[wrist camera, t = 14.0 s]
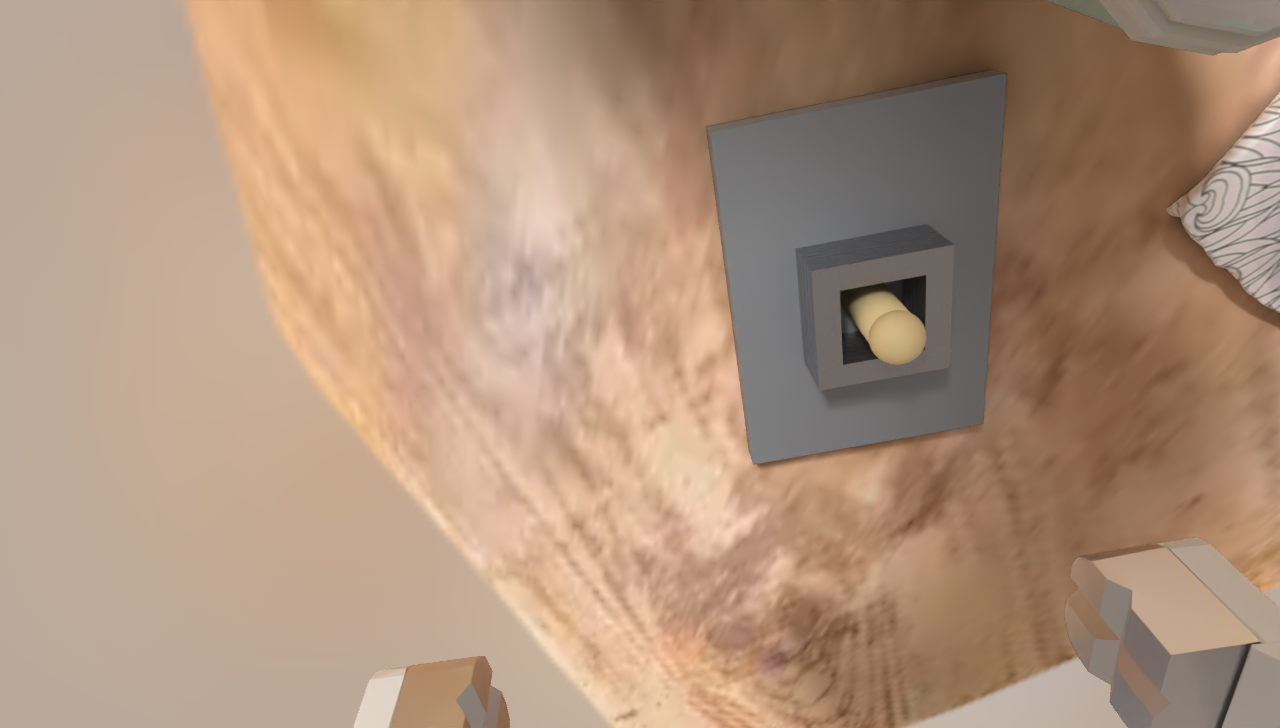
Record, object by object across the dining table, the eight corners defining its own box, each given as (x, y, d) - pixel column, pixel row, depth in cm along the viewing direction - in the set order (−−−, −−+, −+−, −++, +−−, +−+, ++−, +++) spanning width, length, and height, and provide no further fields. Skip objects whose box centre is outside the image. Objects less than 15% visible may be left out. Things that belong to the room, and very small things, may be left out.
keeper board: (706, 126, 35) (731, 163, 28) (991, 69, 34) (1089, 93, 27) (748, 450, 44) (775, 536, 37) (971, 410, 44) (1040, 491, 37)
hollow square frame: (795, 248, 36) (811, 271, 34) (926, 223, 36) (954, 244, 33) (803, 361, 40) (819, 390, 37) (924, 339, 39) (949, 367, 36)
